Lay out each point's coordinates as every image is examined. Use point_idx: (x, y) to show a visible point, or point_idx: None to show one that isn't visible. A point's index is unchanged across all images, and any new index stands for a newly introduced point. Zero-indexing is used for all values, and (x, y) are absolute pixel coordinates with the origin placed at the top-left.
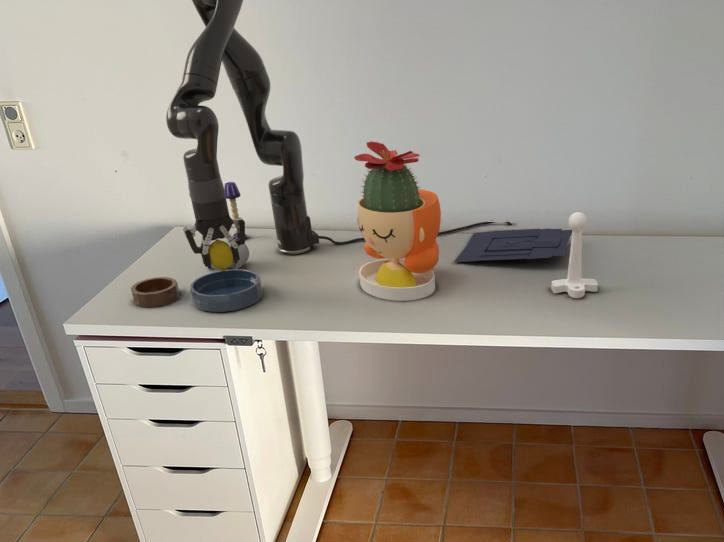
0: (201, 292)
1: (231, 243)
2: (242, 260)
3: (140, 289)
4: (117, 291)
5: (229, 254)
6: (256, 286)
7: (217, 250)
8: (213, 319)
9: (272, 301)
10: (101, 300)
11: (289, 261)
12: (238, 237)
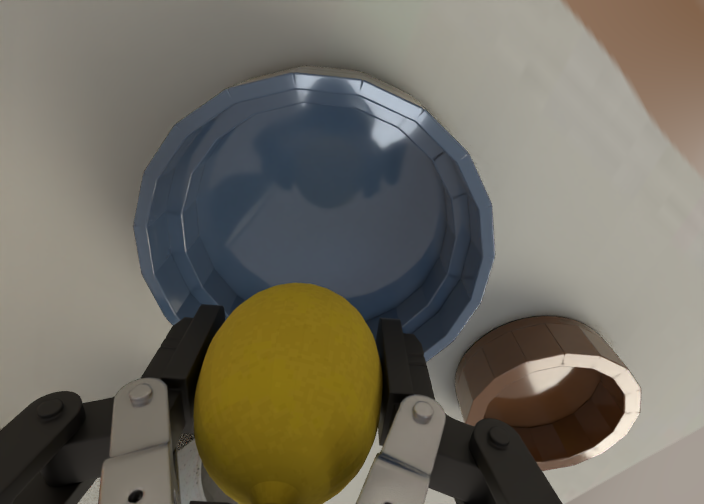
0: (409, 308)
1: (159, 426)
2: (184, 449)
3: (571, 432)
4: (586, 472)
5: (231, 335)
6: (176, 125)
7: (319, 384)
8: (466, 48)
9: (146, 69)
10: (655, 446)
11: (25, 400)
12: (67, 489)
